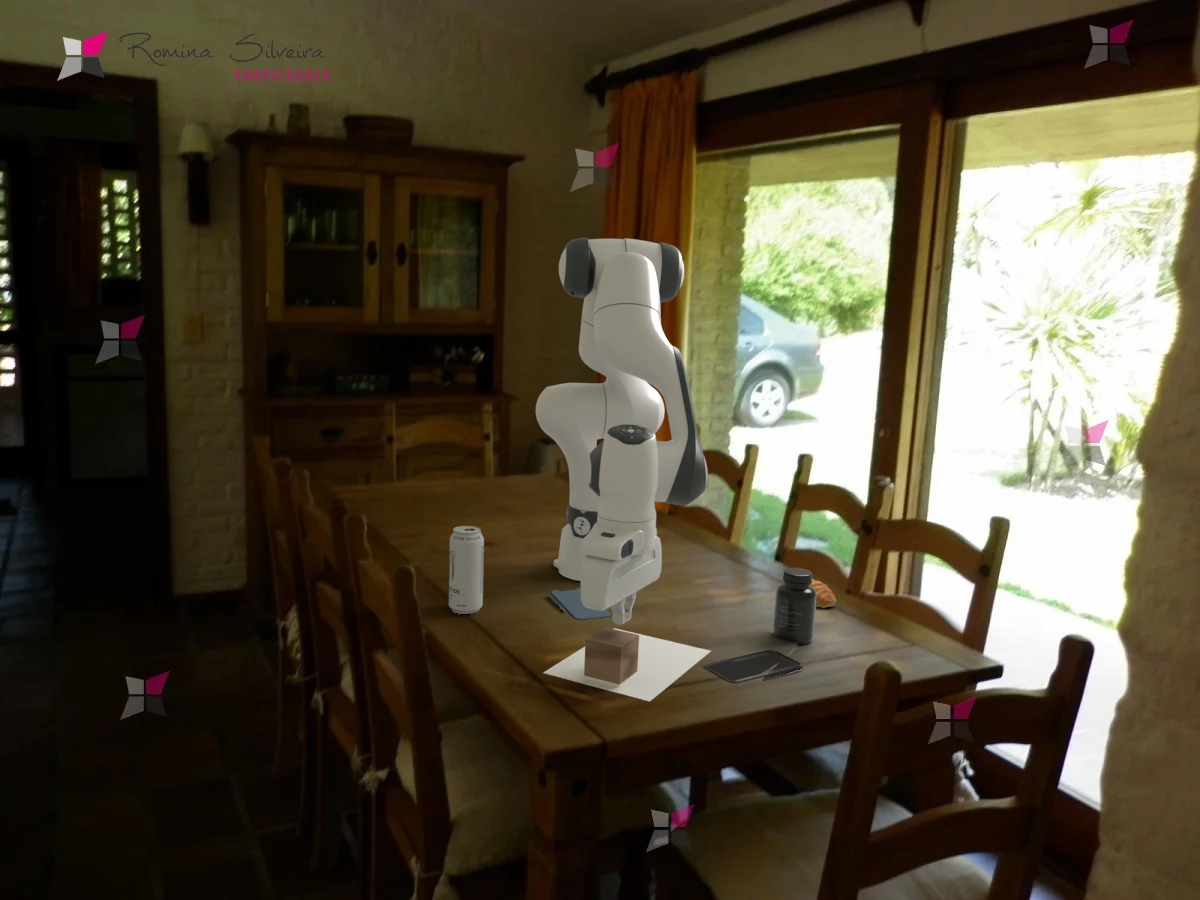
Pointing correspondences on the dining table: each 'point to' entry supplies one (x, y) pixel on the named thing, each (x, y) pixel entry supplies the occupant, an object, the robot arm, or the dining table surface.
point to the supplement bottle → (795, 607)
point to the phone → (753, 666)
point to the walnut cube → (611, 656)
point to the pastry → (823, 594)
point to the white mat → (639, 667)
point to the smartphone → (575, 604)
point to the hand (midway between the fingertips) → (621, 621)
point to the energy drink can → (466, 570)
